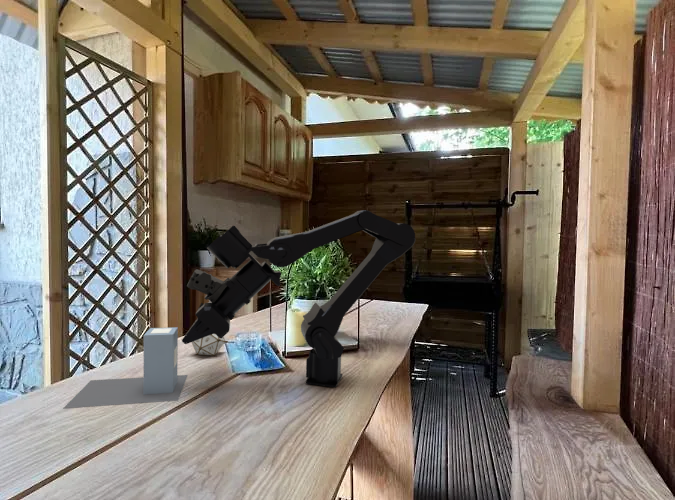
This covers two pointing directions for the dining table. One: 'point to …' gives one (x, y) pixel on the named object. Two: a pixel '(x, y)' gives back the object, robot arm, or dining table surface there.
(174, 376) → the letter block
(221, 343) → the game die
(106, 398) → the mat
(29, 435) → the dining table surface
